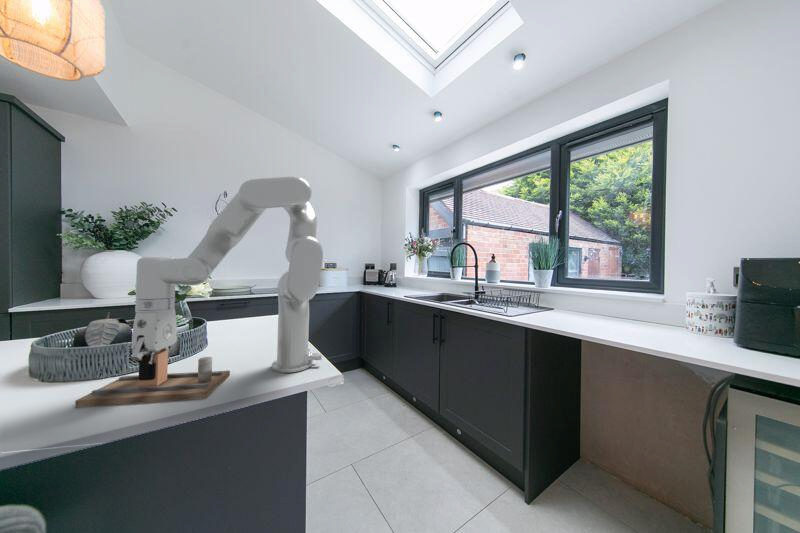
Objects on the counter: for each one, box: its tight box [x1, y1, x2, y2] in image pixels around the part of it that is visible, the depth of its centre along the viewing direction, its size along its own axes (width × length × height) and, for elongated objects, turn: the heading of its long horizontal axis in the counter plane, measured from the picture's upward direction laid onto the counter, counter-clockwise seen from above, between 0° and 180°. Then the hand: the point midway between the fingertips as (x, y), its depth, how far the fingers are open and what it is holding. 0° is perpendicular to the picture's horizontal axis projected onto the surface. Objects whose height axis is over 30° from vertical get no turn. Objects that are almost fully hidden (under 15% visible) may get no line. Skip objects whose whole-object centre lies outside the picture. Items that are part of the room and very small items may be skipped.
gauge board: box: [74, 356, 231, 408], centre depth 70 cm, size 26×14×8 cm, turn 102°
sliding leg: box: [138, 350, 169, 387], centre depth 69 cm, size 4×4×9 cm
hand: (153, 375), depth 69 cm, fingers closed on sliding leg, 4 cm apart
